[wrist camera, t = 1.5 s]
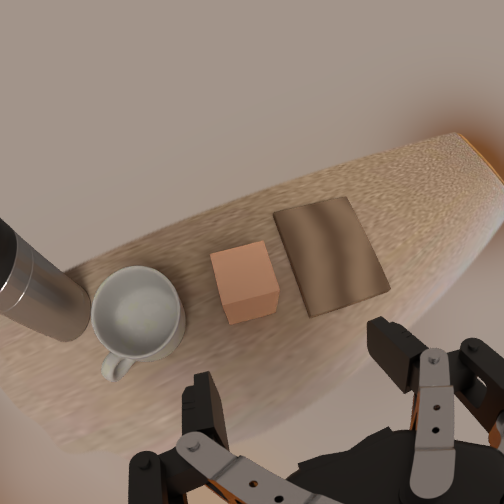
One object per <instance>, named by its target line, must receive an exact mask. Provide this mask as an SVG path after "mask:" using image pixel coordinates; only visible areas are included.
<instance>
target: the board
mask: <svg viewBox="0 0 504 504" xmlns="http://www.w3.org/2000/svg"><path fill="white" fill-rule="evenodd" d="M273 217H274V220H275V223H276V225H277V228H278V231H279V233H280V236H281V239H282V242H283V244H284V247H285V250H286V252H287V255H288V258H289V261H290V263H291V266H292V269H293V272H294V275H295V277H296V280H297V283H298V286H299V289H300V291H301V294H302V297H303V300H304V303H305V306H306V309H307V312H308V314H309V317H310V318H313V317H316V316H319V315H322V314H325V313H328V312H332V311H335V310H338V309H341V308H344V307H347V306H349V305H352V304H355V303H358V302H361V301H364V300H367V299H369V298H372V297H375V296H378V295H381V294H383V293H386V292H388V291H389V290H390V289H391V288H390V285H389V283H388V281H387V278H386V276H385V274H384V272H383V269H382V267H381V265H380V263H379V261H378V258H377V256H376V254H375V252H374V250H373V248H372V246H371V244H370V242H369V240H368V238H367V235H366V233H365V231H364V229H363V227H362V225H361V223H360V222H359V220H358V218H357V216H356V214H355V212H354V210H353V208H352V206H351V204H350V202H349V200H348V199H347V197H342V198H337V199H332V200H328V201H323V202H319V203H314V204H309V205H305V206H301V207H296V208H292V209H287V210H283V211H279V212H274V216H273Z"/></svg>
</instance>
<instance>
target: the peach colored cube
mask: <svg viewBox="0 0 504 504" xmlns="http://www.w3.org/2000/svg"><path fill="white" fill-rule="evenodd" d="M210 256H211V261H212V265H213V269H214V273H215V277H216V282H217V286H218V290H219V294H220V298H221V302H222V306H223V308H224V311H225V313H226V316H227V318H228V321H229V323H230V325H232V324H236V323H240V322H244V321H248V320H251V319H255V318H259V317H262V316H266V315H270V314H273V313H276V308H277V303H278V298H279V293H280V289H279V286H278V283H277V280H276V277H275V274H274V271H273V268H272V265H271V262H270V259H269V256H268V253H267V250H266V247H265V244H264V241H259V242H255V243H251V244H247V245H243V246H239V247H235V248H231V249H227V250H223V251H219V252H215V253H211V254H210Z"/></svg>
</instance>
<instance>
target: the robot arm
mask: <svg viewBox="0 0 504 504" xmlns="http://www.w3.org/2000/svg"><path fill="white" fill-rule="evenodd" d="M90 313H91V305H90V300H89V297H88V295H87V293H86V291H85V290H84V289H83V288H82V287H80V286H79V285H78V284H77V283H75V282H74V281H73V280H71V279H70V278H69V277H68V276H66V275H65V274H64V273H63V272H61V271H60V270H59V269H57V268H56V267H55V266H54V265H53V264H52V263H50V262H49V261H48V260H47V259H45V258H44V257H43V256H42V255H41V254H40V253H38V252H37V251H36V250H35V249H34V248H33V247H31V246H30V245H29V244H28V243H27V242H26V241H25V240H23V239H22V238H21V237H20V236H19V235H18V234H17V233H16V232H15V231H14V230H13V229H12V228H11V227H10V226H9V225H8V224H6V223H5V222H4V221H3V220H2V219H1V218H0V314H2V315H4V316H6V317H8V318H9V319H11V320H13V321H15V322H17V323H20V324H22V325H24V326H26V327H28V328H30V329H33V330H35V331H37V332H39V333H42V334H44V335H46V336H49V337H52V338H54V339H57V340H59V341H63V342H68V341H72V340H74V339H76V338H77V337H78V336H80V335H81V334H82V332H83V331H84V330H85V328H86V326H87V324H88V322H89V318H90ZM367 348H368V351H369V354H370V355H371V357H372V358H373V359H374V360H375V361H376V362H377V363H378V365H379V366H380V367H381V368H382V369H383V370H384V371H385V372H386V374H388V376H389V377H390V378H391V379H392V380H393V382H394V383H395V384H396V385H397V386H398V387H399V389H400V390H401V391H402V392H403V393H404V394H406V393H407V392H409V391H411V390H412V391H413V392H414V396H413V406H412V415H411V423H410V429H409V430H398V431H393V432H392V430H391V429H390V428H389V427H386V428H384V429H382V430H380V431H378V432H376V433H374V434H372V435H370V436H368V437H366V438H365V439H364V440H362V441H361V442H360V443H358V444H357V445H356V446H354V447H353V448H351V449H350V450H348V451H344V452H339V453H333V454H327V455H321V456H318V457H315V458H313V459H310V460H307V461H304V462H301V463H298V467H299V470H297V471H296V472H294V473H292V474H291V475H290V476H289V477H287V478H286V479H283V478H281V477H279V476H277V475H275V474H273V473H272V472H270V471H268V470H266V469H265V468H263V467H261V466H260V465H258V464H256V463H255V462H253V461H251V460H250V459H248V458H246V457H244V456H241V455H240V456H239V457H237V456H235V455H233V454H232V453H230V451H229V445H228V440H227V434H226V428H225V421H224V415H223V409H222V403H221V399H220V396H219V393H218V391H217V388H216V386H215V383H214V381H213V379H212V376H211V374H210V372H209V371H207V372H203V373H199V374H194V385H193V386H188V387H186V388H185V390H184V392H183V394H182V437H181V438H180V439H179V440H178V441H177V444H176V447H174V448H173V449H171V450H169V451H167V452H164V453H162V454H159V455H157V454H156V453H154V452H151V451H142V452H139V453H137V454H136V455H135V456H133V458H132V459H131V461H130V463H129V490H128V504H188V501H187V494H186V492H189V491H191V490H194V489H196V488H198V487H200V486H203V485H205V486H206V487H208V488H209V489H210V490H212V491H213V492H214V493H215V494H217V495H218V496H219V497H220V498H222V499H223V500H224V501H226V502H227V503H228V504H504V358H502V357H501V356H500V355H499V354H498V353H496V352H495V351H494V350H493V349H491V348H490V347H489V346H488V345H487V344H485V343H484V342H483V341H482V340H480V339H477V338H468V339H465V340H464V341H463V342H462V343H461V346H460V349H459V350H456V351H452V352H449V353H446V352H445V351H444V350H442V349H439V348H430V349H429V348H428V347H427V346H426V345H424V344H423V343H422V342H421V341H419V339H417V338H416V337H415V336H414V335H412V334H411V333H410V332H409V331H407V329H406V328H404V327H403V326H402V325H400V324H397V323H395V322H391V323H389V322H388V321H387V320H386V319H384V318H383V317H382V316H380V317H378V318H375V319H373V320H370V321H368V322H367ZM477 376H478V377H479V378H480V379H481V380H482V381H483V382H484V383H485V384H486V386H485V385H484V384H483V383H482V382H480V381H479V380H478V379H477ZM454 394H455V395H456V397H457V398H458V399H459V400H460V401H461V402H462V403H463V404H464V405H465V407H466V408H467V409H468V410H469V411H470V412H471V414H472V415H473V416H474V417H475V418H476V419H477V420H478V422H479V423H480V424H481V425H482V426H483V427H484V429H485V430H486V431H487V432H488V433H489V436H488V441H489V443H490V446H486V445H479V444H474V443H468V442H463V441H458V440H454Z"/></svg>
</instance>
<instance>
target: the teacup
mask: <svg viewBox="0 0 504 504" xmlns="http://www.w3.org/2000/svg"><path fill="white" fill-rule="evenodd" d="M91 321H92V326H93V330H94V332H95V334H96V336H97V338H98V339H99V341H100V342H101V343H102V344H103V345H104V346H105V347H106V348H107V349H108V350H109V351H111V352H110V353H109V354H108V355H107V356H106V358H105V359H104V361H103V364H102V368H101V372H102V375H103V377H104V378H105V379H107V380H109V381H111V382H117V381H119V380H120V379H121V378H122V377H123V376H124V375H125V374H126V373H127V371H128V370H129V369H130V367H131V366H132V364H134V363H135V362H136V361H141V362H152V361H157V360H160V359H162V358H164V357H166V356H168V355H169V354H171V353H172V352H173V351H174V350H175V349H176V348H177V347H178V345H179V344H180V342H181V340H182V338H183V335H184V332H185V327H186V317H185V311H184V308H183V305H182V303H181V301H180V298H179V297H178V294H177V291H176V289H175V287H174V286H173V284H172V283H171V281H170V280H169V279H168V278H167V277H166V276H165V275H163V274H162V273H160V272H159V271H157V270H155V269H153V268H150V267H146V266H130V267H126V268H123V269H120V270H118V271H116V272H114V273H113V274H112V275H110V276H109V277H108V278H107V279H106V280H104V282H103V283H102V284H101V285H100V287H99V288H98V290H97V291H96V294H95V296H94V299H93V303H92V307H91ZM119 361H120V362H119ZM118 362H119V363H118ZM117 364H118V365H117ZM116 365H117V366H116Z"/></svg>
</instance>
